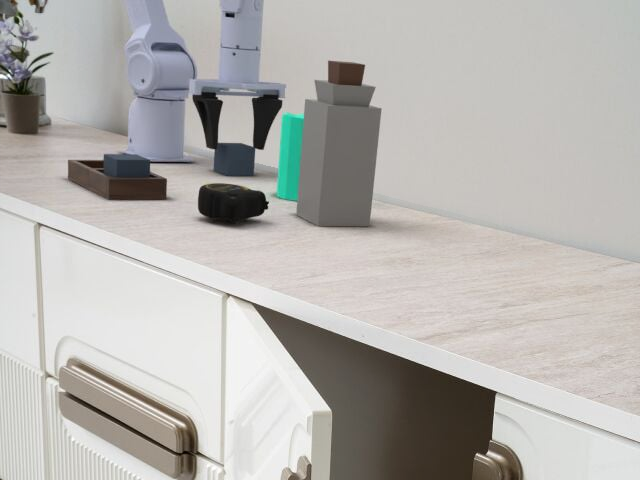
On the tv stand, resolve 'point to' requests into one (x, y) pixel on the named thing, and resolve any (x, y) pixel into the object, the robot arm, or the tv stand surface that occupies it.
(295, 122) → the candle
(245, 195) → the tape measure
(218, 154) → the slate blue cube
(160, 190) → the holder
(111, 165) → the dark blue cube
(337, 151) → the perfume bottle
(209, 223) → the tv stand surface
